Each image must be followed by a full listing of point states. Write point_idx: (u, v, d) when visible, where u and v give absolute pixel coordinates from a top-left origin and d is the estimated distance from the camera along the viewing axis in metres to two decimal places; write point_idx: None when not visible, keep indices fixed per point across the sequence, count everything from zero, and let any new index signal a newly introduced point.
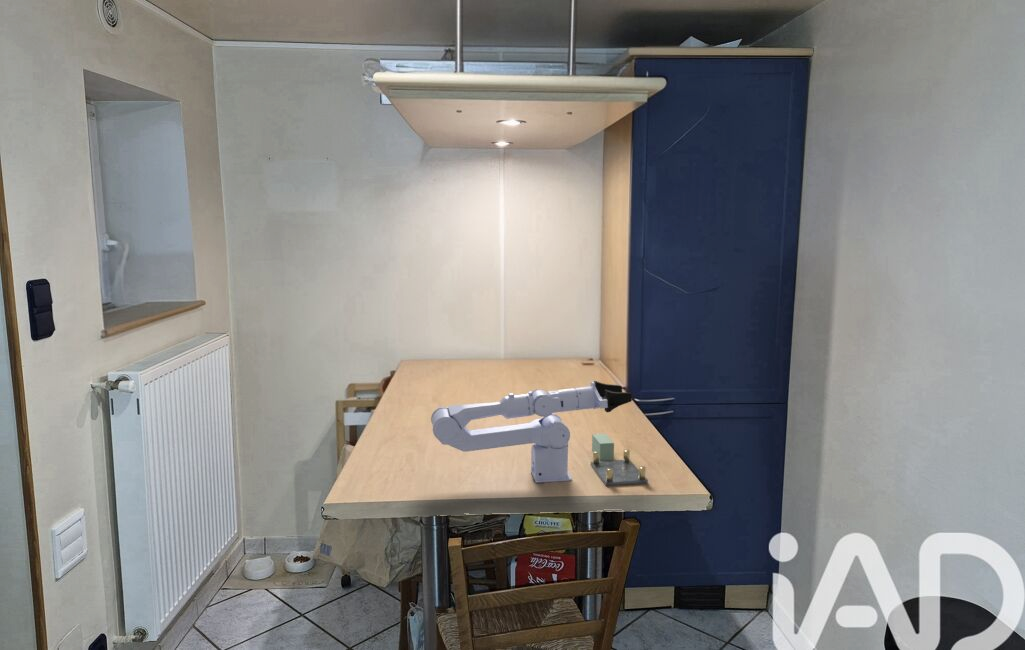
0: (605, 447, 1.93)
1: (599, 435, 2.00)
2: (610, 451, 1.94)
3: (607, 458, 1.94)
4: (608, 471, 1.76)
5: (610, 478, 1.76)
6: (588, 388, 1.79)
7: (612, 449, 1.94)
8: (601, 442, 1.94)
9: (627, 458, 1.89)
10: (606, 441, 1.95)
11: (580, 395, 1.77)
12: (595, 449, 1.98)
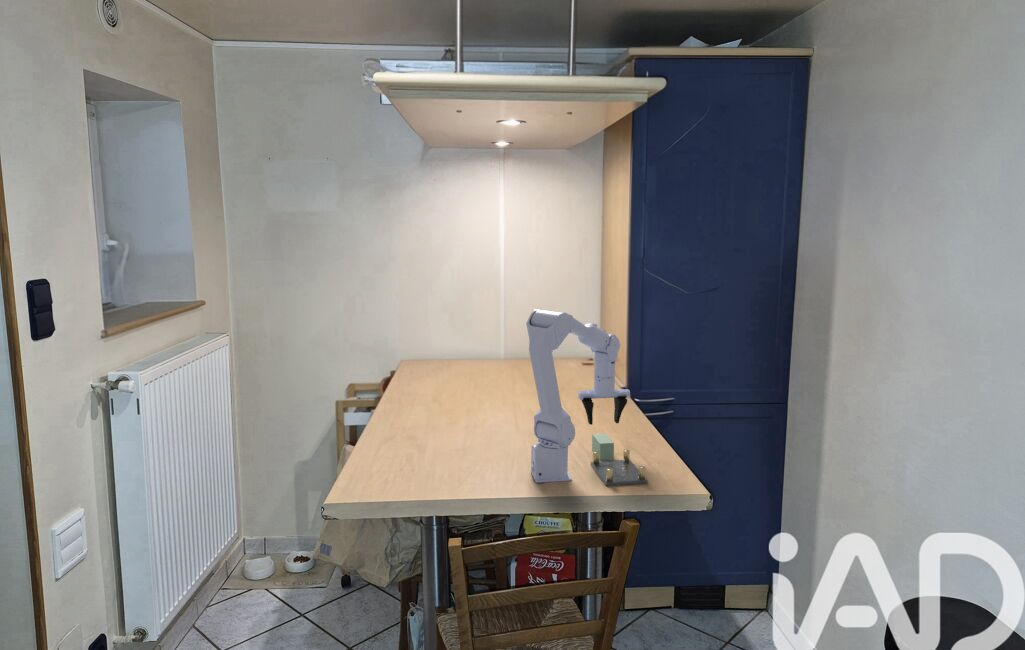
0: (605, 447, 1.93)
1: (599, 435, 2.00)
2: (610, 451, 1.94)
3: (607, 458, 1.94)
4: (608, 471, 1.76)
5: (610, 478, 1.76)
6: None
7: (612, 449, 1.94)
8: (601, 442, 1.94)
9: (627, 458, 1.89)
10: (605, 441, 1.95)
11: None
12: (595, 449, 1.98)
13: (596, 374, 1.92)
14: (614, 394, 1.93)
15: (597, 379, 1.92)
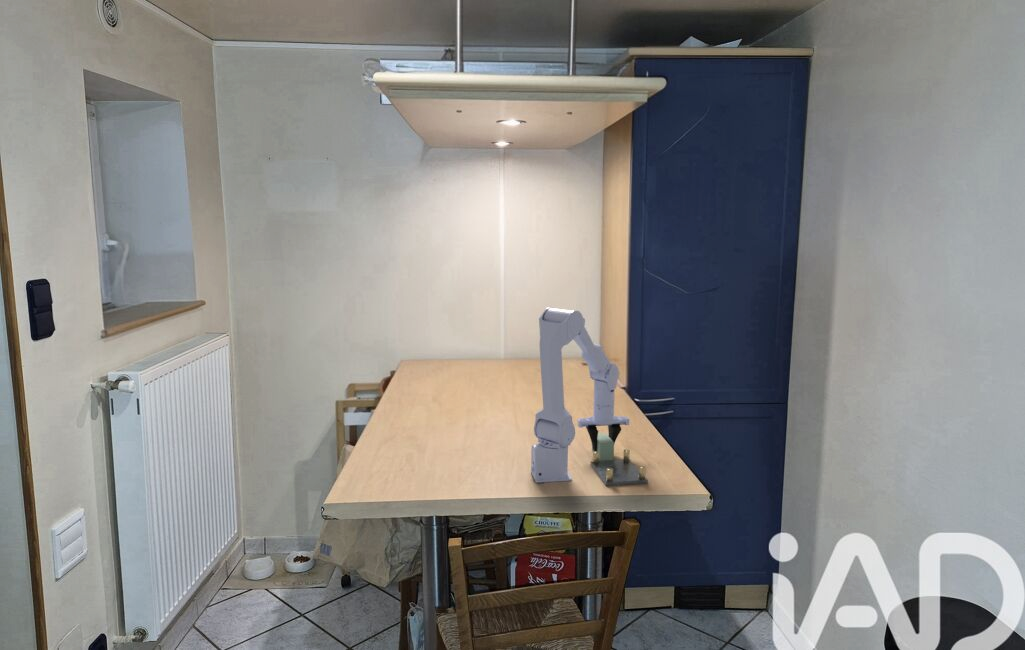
0: (605, 446, 1.93)
1: (599, 435, 2.00)
2: (610, 451, 1.94)
3: (607, 458, 1.94)
4: (608, 471, 1.76)
5: (610, 478, 1.76)
6: None
7: (612, 448, 1.94)
8: (601, 441, 1.94)
9: (627, 458, 1.89)
10: (606, 440, 1.95)
11: None
12: None
13: (595, 402, 1.94)
14: (613, 422, 1.94)
15: (596, 407, 1.94)
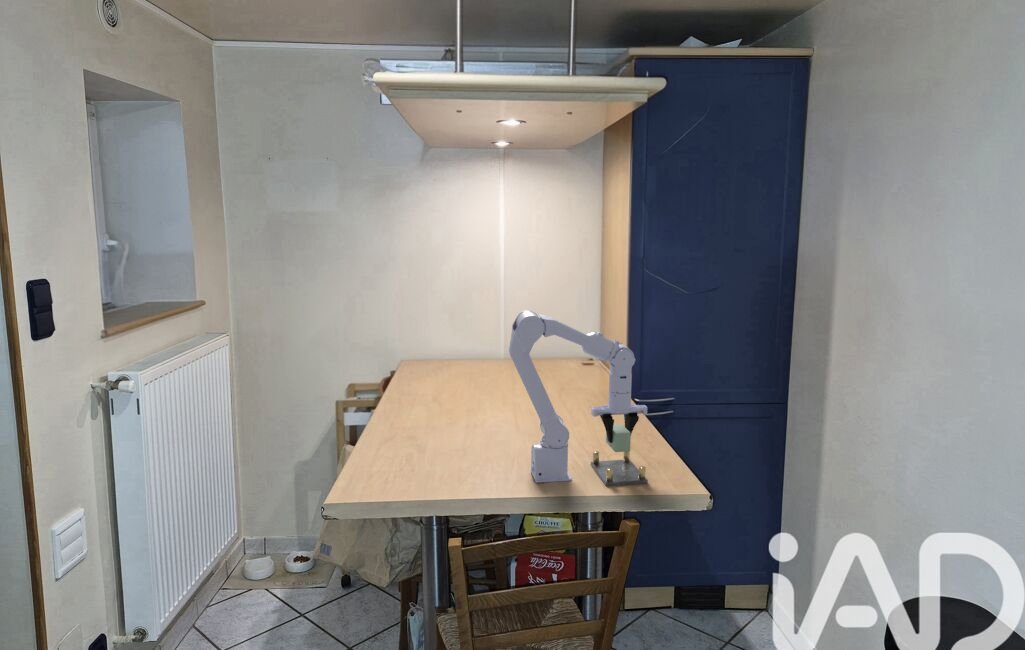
0: (621, 437, 1.79)
1: (614, 425, 1.85)
2: (626, 442, 1.79)
3: (623, 449, 1.79)
4: (608, 471, 1.76)
5: (610, 478, 1.76)
6: None
7: (628, 439, 1.79)
8: (617, 432, 1.79)
9: (627, 458, 1.89)
10: (621, 431, 1.80)
11: None
12: None
13: (609, 387, 1.81)
14: (630, 410, 1.79)
15: (612, 394, 1.79)
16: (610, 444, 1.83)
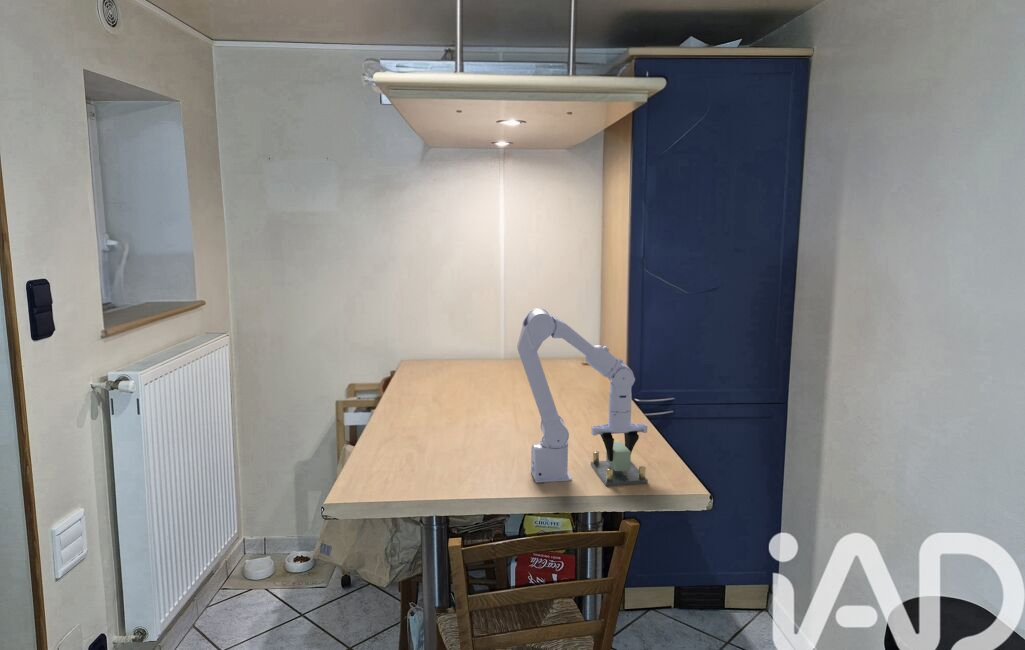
0: (621, 456, 1.79)
1: (614, 443, 1.85)
2: (626, 461, 1.79)
3: (623, 468, 1.80)
4: (608, 471, 1.76)
5: (610, 478, 1.76)
6: None
7: (628, 458, 1.79)
8: (617, 451, 1.80)
9: None
10: (621, 450, 1.80)
11: None
12: None
13: None
14: (630, 429, 1.79)
15: (612, 413, 1.79)
16: (610, 463, 1.83)
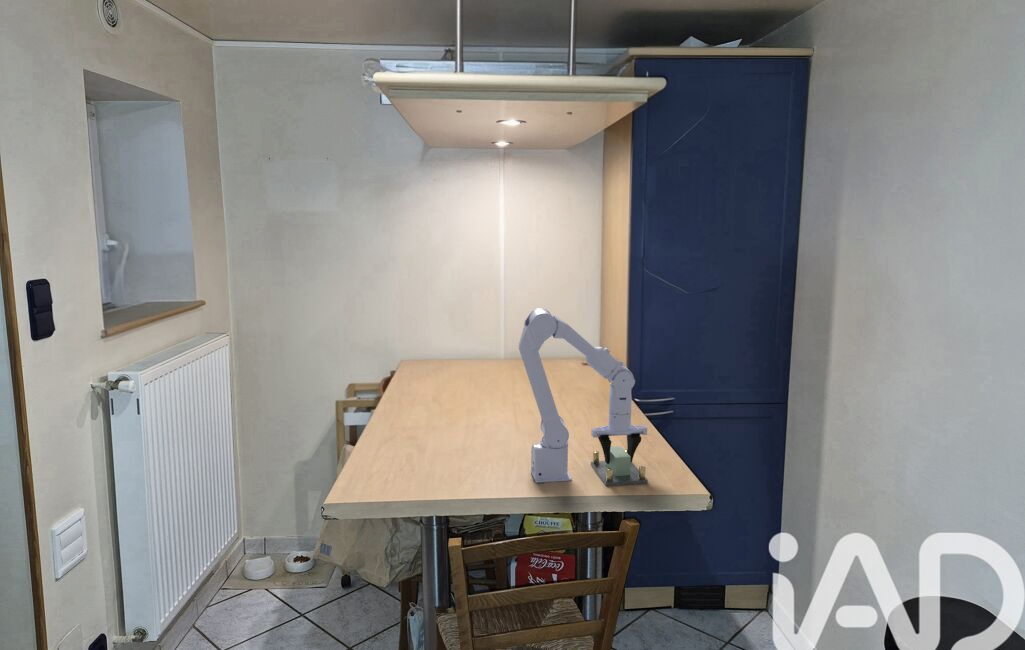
0: (621, 461, 1.79)
1: (614, 448, 1.86)
2: (626, 466, 1.80)
3: (623, 473, 1.80)
4: (608, 471, 1.76)
5: (610, 478, 1.76)
6: None
7: (628, 463, 1.80)
8: (617, 455, 1.80)
9: None
10: (621, 454, 1.81)
11: None
12: (610, 463, 1.84)
13: None
14: (630, 431, 1.80)
15: (612, 415, 1.79)
16: (610, 467, 1.83)
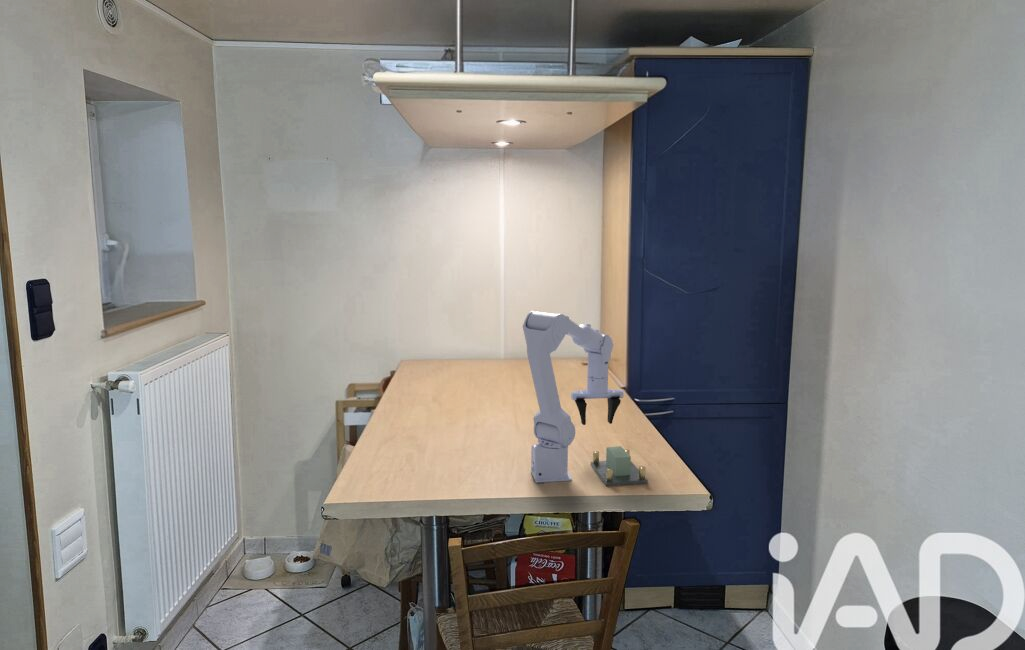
0: (621, 461, 1.79)
1: (614, 448, 1.86)
2: (626, 466, 1.80)
3: (623, 473, 1.80)
4: (608, 471, 1.76)
5: (610, 478, 1.76)
6: None
7: (628, 463, 1.80)
8: (617, 455, 1.80)
9: None
10: (621, 454, 1.81)
11: None
12: (610, 463, 1.84)
13: (590, 374, 1.92)
14: (607, 394, 1.92)
15: (590, 379, 1.92)
16: (610, 467, 1.83)
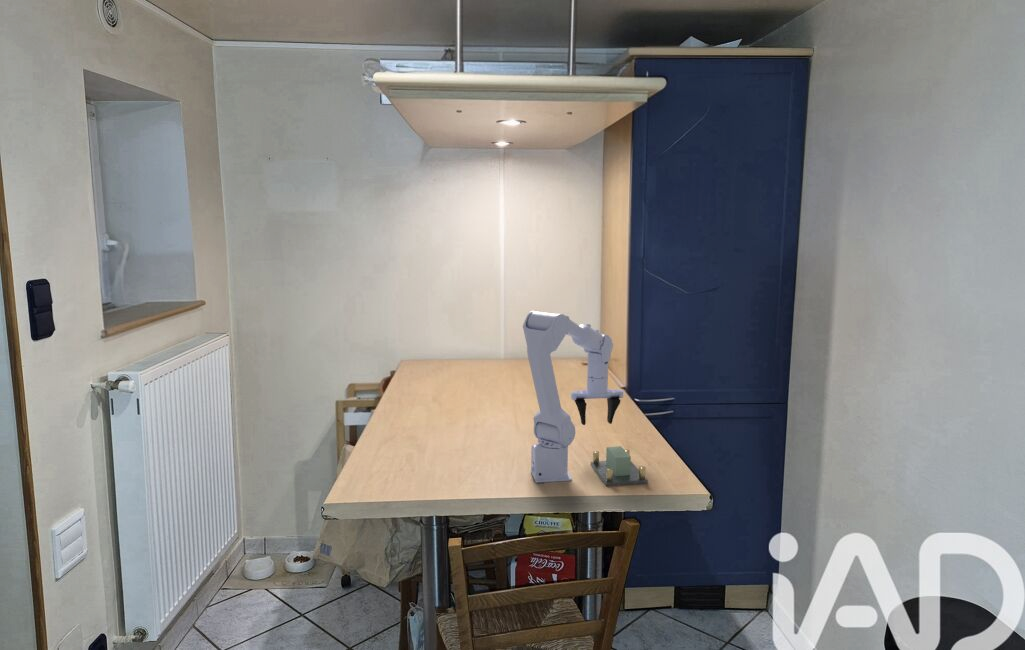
0: (621, 461, 1.79)
1: (614, 448, 1.86)
2: (626, 466, 1.80)
3: (623, 473, 1.80)
4: (608, 471, 1.76)
5: (610, 478, 1.76)
6: None
7: (628, 463, 1.80)
8: (617, 455, 1.80)
9: None
10: (621, 454, 1.81)
11: None
12: (610, 463, 1.84)
13: (589, 374, 1.92)
14: (607, 394, 1.92)
15: (590, 379, 1.92)
16: (610, 467, 1.83)
